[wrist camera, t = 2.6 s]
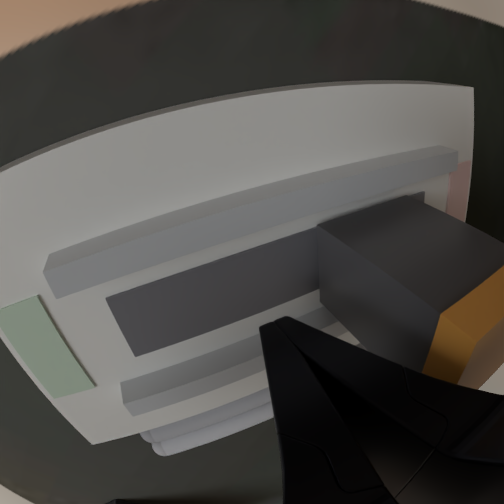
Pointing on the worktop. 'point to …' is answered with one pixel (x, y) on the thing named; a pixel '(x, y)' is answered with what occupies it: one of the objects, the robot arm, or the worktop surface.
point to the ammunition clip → (119, 502)
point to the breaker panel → (204, 237)
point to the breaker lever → (416, 288)
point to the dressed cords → (212, 423)
